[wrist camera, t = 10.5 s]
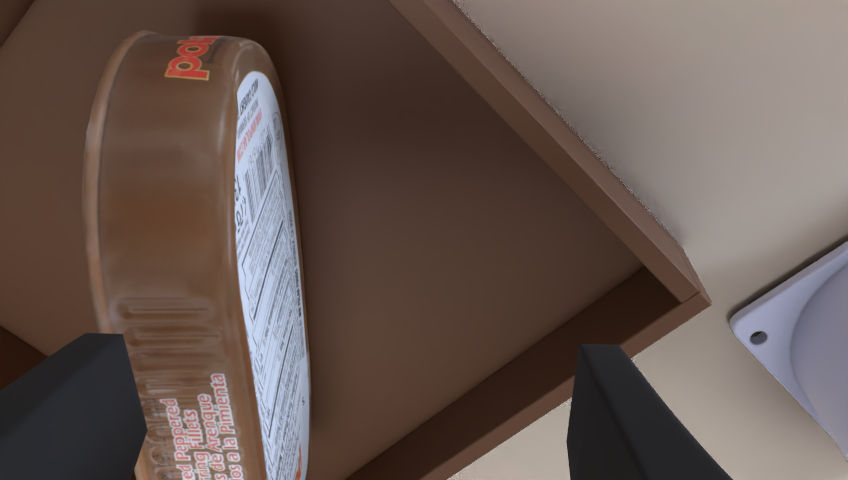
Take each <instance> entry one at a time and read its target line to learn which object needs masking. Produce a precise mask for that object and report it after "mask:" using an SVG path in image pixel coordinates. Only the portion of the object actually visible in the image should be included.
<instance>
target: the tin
mask: <svg viewBox="0 0 848 480" xmlns="http://www.w3.org/2000/svg"><path fill="white" fill-rule="evenodd" d="M82 231H83V247H84V258H85V272H86V275H87V282H88V290H89V295H90V299H91V305H92V310H93V314H94V318H95V322H96V326H97V330H98V333H109V334H123V336H124V340H125V344H126V348H127V352H128V356H129V359H130V363H131V367H132V371H133V375H134V379H135V383H136V386H137V390H138V394H139V398H140V402H141V406H142V410H143V413H144V417H145V421H146V425H147V429H148V430H147V433H146V436H145V439H144V442H143V445H142V448H141V451H140V454H139V457H138V460H137V463H136V466H135V469H134V472H135V476H136V480H307V479H308V475H309V466H310V452H311V373H310V355H309V343H308V331H307V315H306V303H305V288H304V272H303V261H302V249H301V238H300V227H299V217H298V206H297V196H296V187H295V177H294V167H293V156H292V147H291V140H290V133H289V126H288V120H287V114H286V108H285V103H284V98H283V93H282V88H281V85H280V81H279V78H278V75H277V72H276V69H275V67H274V64H273V62H272V60H271V59H270V57H269V55H268V53H267V52H266V51H265V49H264V48H263V47H262V46H261V45H260V44H258V43H257V42H255V41H253V40H250V39H246V38H241V37H232V36H163V35H162V34H159V33H157V32H154V31H149V30H142V31H139V32H135V33H133V34H131V35H129V36H128V37H127V38H125V39H124V40H122V42H121V43H120V44H119V46H118V47H117V48H116V49H115V50H114V52H113V54H112V55H111V57H110V58H109V60H108V62H107V64H106V66H105V68H104V71H103V74H102V77H101V79H100V81H99V83H98V88H97V92H96V96H95V99H94V102H93V105H92V108H91V115H90V120H89V123H88V127H87V131H86V142H85V150H84V164H83V181H82Z"/></svg>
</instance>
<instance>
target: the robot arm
mask: <svg viewBox="0 0 848 480" xmlns="http://www.w3.org/2000/svg"><path fill="white" fill-rule="evenodd" d="M730 328H731V330H732V332H733V333H734V335H735V337H736V338H737V339H738V340H739V341H740V342H741V343H742V344H743V345H744V346H745V347H746V348H747V349H748V350H749V351H750V352H751V353H752V355H753V356H754V357H755V358H756V359H757V360H758V361H759V362H760V363H761V364H762V365H763V366H764V367H765V368H766V369H767V370H768V371H769V372H770V373H771V374H772V375H773V376H774V378H775V379H776V380H777V381H778V382H779V383H780V384H781V385H782V386H783V387H784V388H785V389H786V390H787V391H788V392H789V393H790V394H791V395H792V396H793V397H794V398H795V399H796V401H797V402H798V403H799V404H800V405H801V406H802V407H803V408H804V409H805V410H806V411H807V412H808V413H809V414H810V415H811V416H812V417H813V418H814V419H815V420H816V421H817V422H818V424H819V425H820V426H821V427H822V428H823V429H824V430H825V431H826V432H827V433H828V434H829V435H830V436H831V437H832V438H833V439H834V441H835V442H836V444H837V445H838V447H839V449H840V450H841V452H842V454H843V455H844V457H845V458H846V460H847V462H848V241H847V242H845V243H844V244H842V245H841V246H839V247H837V248H836V249H834V250H833V251H831V252H830V253H828V254H827V255H825V256H824V257H822V258H820V259H819V260H817V261H816V262H814V263H813V264H811V265H810V266H808V267H806V268H805V269H803V270H802V271H800V272H799V273H797V274H796V275H794V276H793V277H791V278H789V279H788V280H786V281H785V282H783V283H782V284H780V285H779V286H777V287H775V288H774V289H772V290H771V291H769V292H768V293H766V294H765V295H763V296H762V297H760V298H758V299H757V300H755V301H754V302H752V303H751V304H749V305H748V306H746V307H745V308H743V309H741V310H740V311H738V312H737V313H736V314H735V315H733V316H732V318H731V320H730ZM758 331H762V333H761V334H760V335H758V336H756V337H751V335H752V334H753V333H755V332H758ZM147 430H148V429H147V425H146V421H145V417H144V413H143V410H142V406H141V402H140V398H139V394H138V390H137V386H136V383H135V379H134V375H133V371H132V367H131V363H130V359H129V356H128V352H127V348H126V344H125V340H124V336H123V334H109V333H85V334H83V335H81V336H80V337H78V338H77V339H75V340H73V341H72V342H70V343H69V344H67V345H66V346H64V347H63V348H61V349H60V350H58V351H57V352H55V353H54V354H52V355H51V356H49V357H48V358H46V359H45V360H43V361H42V362H41V363H39V364H38V365H36V366H35V367H33V368H32V369H31V370H29V371H28V372H26V373H25V374H23V375H22V376H20V377H19V378H18V379H16V380H15V381H13V382H12V383H10V384H9V385H8V386H6V387H5V388H3V389H2V390H0V480H130V479H131V477H132V474H133V471H134V469H135V466H136V463H137V460H138V457H139V454H140V451H141V448H142V445H143V442H144V439H145V436H146V433H147ZM567 450H568V460H569V469H570V478H571V480H733V479H732V478H731V477H730V476H729V475H728V474H727V473H726V472H725V471H724V470H723V469H722V468H721V467H720V466H719V465H718V464H717V463H716V461H715V460H714V459H713V458H712V457H711V456H710V455H709V454H708V453H707V452H706V451H705V449H704V448H703V447H702V446H701V445H700V444H699V443H698V441H697V440H696V439H695V438H694V437H693V436H692V435H691V433H690V432H689V431H688V430H687V429H686V428H685V426H684V425H683V424H682V423H681V422H680V421H679V420H678V418H677V417H676V416H675V415H674V414H673V412H672V411H671V410H670V409H669V408H668V406H667V405H666V404H665V403H664V401H663V400H662V399H661V398H660V396H659V395H658V394H657V393H656V391H655V390H654V389H653V388H652V386H651V385H650V384H649V383H648V381H647V380H646V379H645V377H644V376H643V375H642V373H641V372H640V371H639V370H638V368H637V367H636V366H635V364H634V363H633V362H632V360H631V359H630V358H629V356H628V355H627V354H626V352H625V351H624V350H623V349H622V348H621V347H620V346H619V345H603V344H579V346H578V354H577V362H576V370H575V378H574V386H573V394H572V402H571V410H570V418H569V426H568V434H567Z"/></svg>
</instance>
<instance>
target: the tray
mask: <svg viewBox="0 0 848 480" xmlns="http://www.w3.org/2000/svg"><path fill="white" fill-rule="evenodd" d="M142 30H149V31H154V32H157V33H159V34H162V35H163V36H232V37H241V38H246V39H250V40H253V41H255V42H257V43H258V44H260V45H261V46H262V47H263V48H264V49H265V51H266V52H267V53H268V55H269V57H270V59H271V60H272V62H273V64H274V67H275V69H276V72H277V75H278V78H279V81H280V85H281V88H282V93H283V98H284V103H285V108H286V114H287V120H288V126H289V133H290V140H291V147H292V156H293V167H294V177H295V187H296V196H297V206H298V217H299V227H300V238H301V249H302V261H303V272H304V288H305V303H306V315H307V331H308V343H309V355H310V373H311V452H310V466H309V475H308V479H307V480H447V479H448V478H450V477H451V476H453V475H454V474H456V473H457V472H459V471H460V470H462V469H463V468H465V467H466V466H468V465H469V464H471V463H472V462H474V461H475V460H477V459H478V458H480V457H482V456H483V455H485V454H486V453H488V452H489V451H491V450H492V449H494V448H495V447H497V446H498V445H500V444H501V443H503V442H504V441H506V440H507V439H509V438H510V437H512V436H513V435H515V434H516V433H518V432H519V431H521V430H522V429H524V428H525V427H527V426H529V425H530V424H532V423H533V422H535V421H536V420H538V419H539V418H541V417H542V416H544V415H545V414H547V413H548V412H550V411H551V410H553V409H554V408H556V407H557V406H559V405H560V404H562V403H563V402H565V401H566V400H568V399H569V398H571V397H572V394H573V386H574V378H575V370H576V362H577V354H578V346H579V344H603V345H619V346H620V347H621V348H622V349H623V350H624V351H625V352H626V354H627V355H628V356H629V358H632V357H633V356H635V355H636V354H638V353H639V352H641V351H642V350H644V349H645V348H647V347H648V346H650V345H651V344H653V343H654V342H656V341H657V340H659V339H660V338H662V337H663V336H665V335H666V334H668V333H670V332H671V331H673V330H674V329H676V328H677V327H679V326H680V325H682V324H683V323H685V322H686V321H688V320H689V319H691V318H692V317H694V316H695V315H697V314H698V313H700V312H701V311H703V310H704V309H706V308H707V307H709V306H710V305H711V304H712V303H711V300H710V298H709V297H708V295H707V293H706V291H705V289H704V287H703V285H702V284H701V282H700V280H699V278H698V276H697V274H696V272H695V271H694V269H693V267H692V265H691V263H690V261H689V260H688V258H687V256H686V254H685V252H684V250H683V248H682V247H681V246H680V245H679V244H678V243H677V242H676V241H675V240H674V238H673V237H672V236H671V235H670V234H669V233H668V232H667V231H666V230H665V229H664V228H663V227H662V226H661V225H660V223H659V222H658V221H657V220H656V219H655V218H654V217H653V216H652V215H651V214H650V213H649V212H648V211H647V210H646V208H645V207H644V206H643V205H642V204H641V203H640V202H639V201H638V200H637V199H636V198H635V197H634V196H633V195H632V193H631V192H630V191H629V190H628V189H627V188H626V187H625V186H624V185H623V184H622V183H621V182H620V181H619V180H618V178H617V177H616V176H615V175H614V174H613V173H612V172H611V171H610V170H609V169H608V168H607V167H606V166H605V165H604V163H603V162H602V161H601V160H600V159H599V158H598V157H597V156H596V155H595V154H594V153H593V152H592V151H591V150H590V148H589V147H588V146H587V145H586V144H585V143H584V142H583V141H582V140H581V139H580V138H579V137H578V136H577V135H576V133H575V132H574V131H573V130H572V129H571V128H570V127H569V126H568V125H567V124H566V123H565V122H564V121H563V120H562V118H561V117H560V116H559V115H558V114H557V113H556V112H555V111H554V110H553V109H552V108H551V107H550V106H549V105H548V104H547V102H546V101H545V100H544V99H543V98H542V97H541V96H540V95H539V94H538V93H537V92H536V91H535V90H534V89H533V87H532V86H531V85H530V84H529V83H528V82H527V81H526V80H525V79H524V78H523V77H522V76H521V75H520V74H519V72H518V71H517V70H516V69H515V68H514V67H513V66H512V65H511V64H510V63H509V62H508V61H507V60H506V59H505V57H504V56H503V55H502V54H501V53H500V52H499V51H498V50H497V49H496V48H495V47H494V46H493V45H492V44H491V42H490V41H489V40H488V39H487V38H486V37H485V36H484V35H483V34H482V33H481V32H480V31H479V30H478V29H477V27H476V26H475V25H474V24H473V23H472V22H471V21H470V20H469V19H468V18H467V17H466V16H465V15H464V14H463V12H462V11H461V10H460V9H459V8H458V7H457V6H456V5H455V4H454V3H453V2H452V1H451V0H0V390H2V389H3V388H5V387H6V386H8V385H9V384H10V383H12V382H13V381H15V380H16V379H18V378H19V377H20V376H22V375H23V374H25V373H26V372H28V371H29V370H31V369H32V368H33V367H35V366H36V365H38V364H39V363H41V362H42V361H43V360H45V359H46V358H48V357H49V356H51V355H52V354H54V353H55V352H57V351H58V350H60V349H61V348H63V347H64V346H66V345H67V344H69V343H70V342H72V341H73V340H75V339H77V338H78V337H80V336H81V335H83V334H85V333H98V330H97V326H96V322H95V318H94V314H93V310H92V305H91V299H90V295H89V290H88V282H87V275H86V272H85V258H84V247H83V231H82V181H83V164H84V150H85V142H86V131H87V127H88V123H89V120H90V115H91V108H92V105H93V102H94V99H95V96H96V92H97V88H98V83H99V81H100V79H101V77H102V74H103V71H104V68H105V66H106V64H107V62H108V60H109V58H110V57H111V55H112V54H113V52H114V50H115V49H116V48H117V47H118V46H119V44H120V43H121V42H122V40H124V39H125V38H127V37H128V36H129V35H131V34H133V33H135V32H139V31H142ZM130 480H136V476H135V472H134V471H133V474H132V477H131V479H130Z"/></svg>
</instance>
